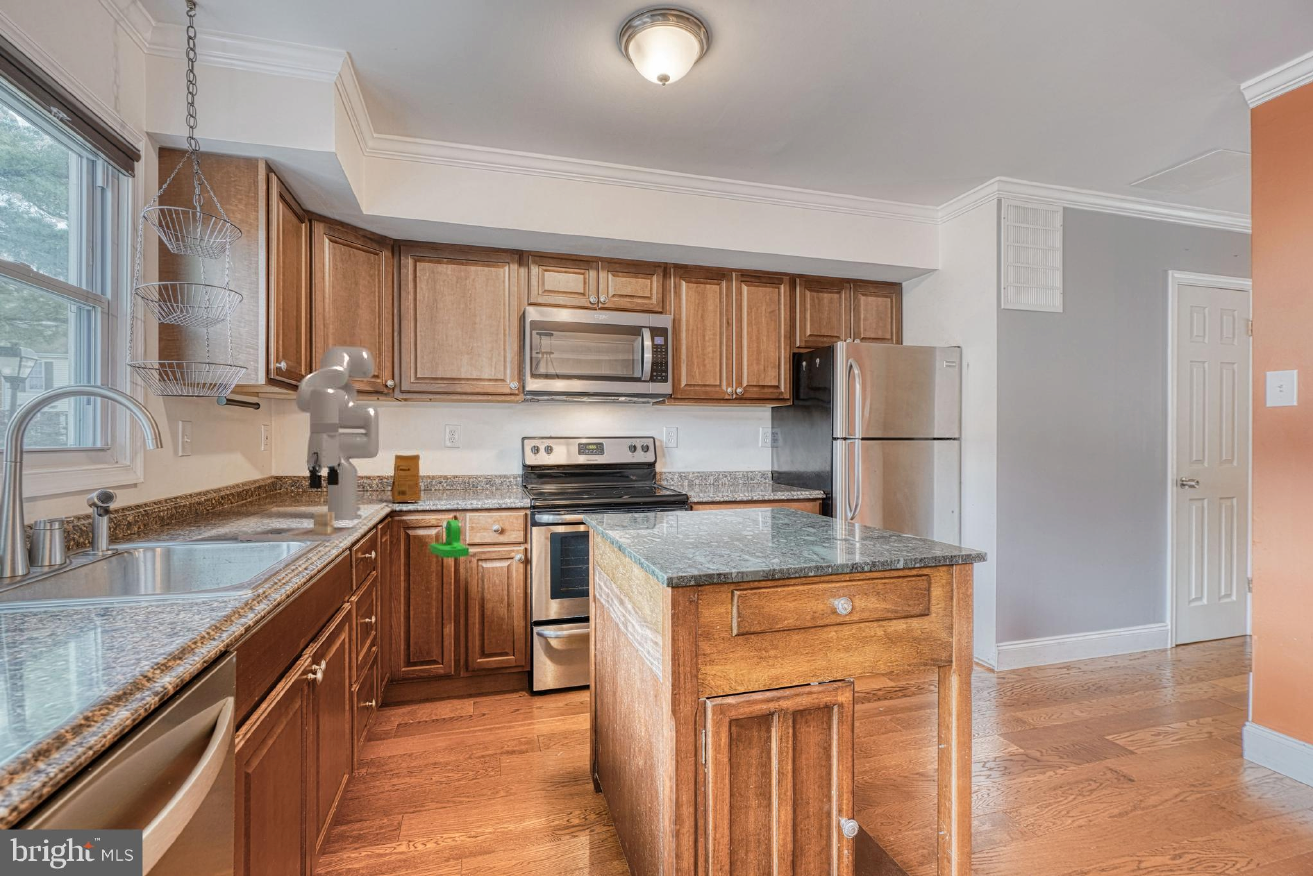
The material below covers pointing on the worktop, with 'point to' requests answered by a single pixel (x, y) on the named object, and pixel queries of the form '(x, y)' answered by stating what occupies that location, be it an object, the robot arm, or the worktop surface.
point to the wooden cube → (323, 522)
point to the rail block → (297, 534)
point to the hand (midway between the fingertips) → (324, 486)
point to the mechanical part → (450, 543)
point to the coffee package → (406, 479)
